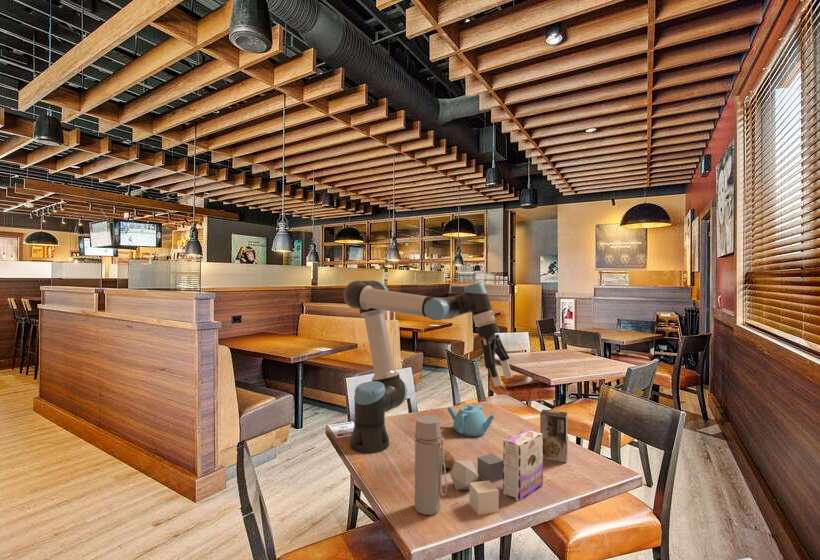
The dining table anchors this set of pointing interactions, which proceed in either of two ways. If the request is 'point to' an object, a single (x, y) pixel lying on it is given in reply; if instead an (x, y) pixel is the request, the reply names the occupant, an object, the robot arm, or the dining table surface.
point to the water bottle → (428, 465)
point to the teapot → (470, 420)
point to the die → (463, 474)
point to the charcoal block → (490, 468)
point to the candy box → (522, 464)
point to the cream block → (484, 497)
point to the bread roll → (446, 461)
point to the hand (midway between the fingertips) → (504, 381)
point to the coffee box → (554, 435)
